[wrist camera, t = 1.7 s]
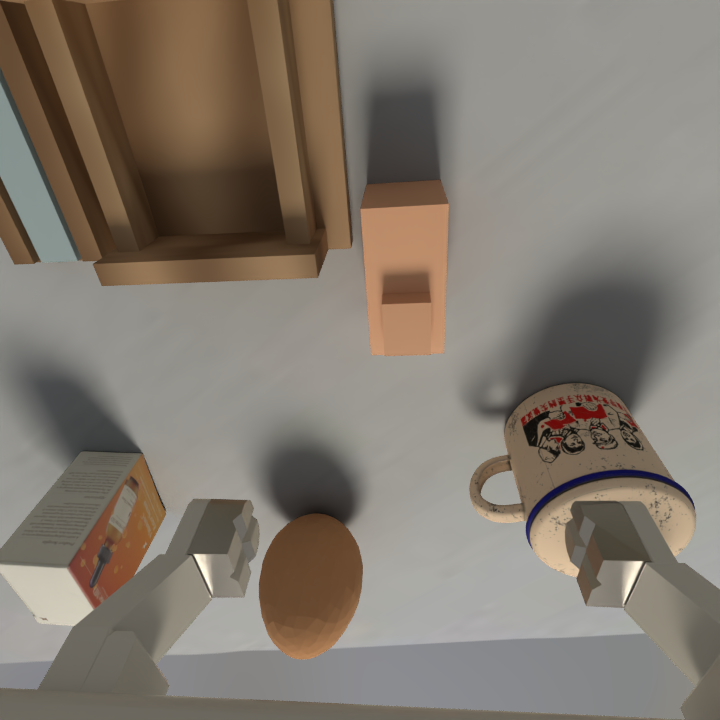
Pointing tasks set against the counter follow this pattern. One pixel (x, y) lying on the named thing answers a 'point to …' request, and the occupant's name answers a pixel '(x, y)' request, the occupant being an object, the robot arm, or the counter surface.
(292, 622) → the egg
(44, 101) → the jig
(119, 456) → the small box
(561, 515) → the teacup with lid
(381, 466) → the counter surface
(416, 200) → the block
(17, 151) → the plank
